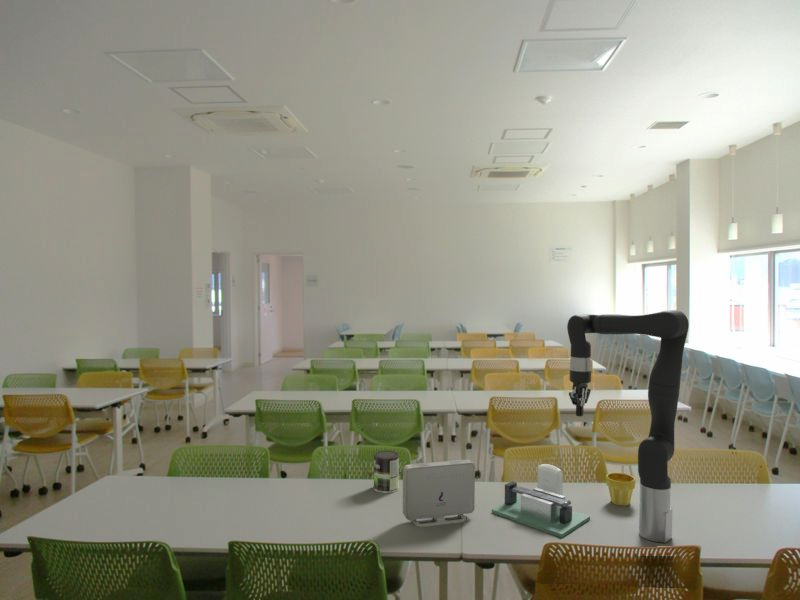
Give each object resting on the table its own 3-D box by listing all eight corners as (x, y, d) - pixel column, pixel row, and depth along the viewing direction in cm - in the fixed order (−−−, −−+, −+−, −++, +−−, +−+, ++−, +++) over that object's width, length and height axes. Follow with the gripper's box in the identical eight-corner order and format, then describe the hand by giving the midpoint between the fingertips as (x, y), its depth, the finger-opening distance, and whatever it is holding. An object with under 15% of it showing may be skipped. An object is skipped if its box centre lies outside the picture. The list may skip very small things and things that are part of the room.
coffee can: (377, 494, 220) (377, 459, 219) (370, 485, 230) (370, 451, 229) (402, 491, 223) (402, 456, 222) (394, 482, 233) (394, 449, 232)
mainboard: (589, 519, 198) (590, 516, 197) (561, 537, 183) (561, 534, 183) (521, 497, 217) (521, 494, 217) (491, 512, 203) (491, 509, 203)
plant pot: (607, 506, 209) (607, 480, 209) (604, 495, 219) (604, 471, 219) (637, 509, 207) (637, 483, 207) (632, 498, 217) (632, 473, 217)
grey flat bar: (570, 505, 194) (571, 501, 194) (564, 508, 191) (564, 504, 191) (518, 488, 209) (518, 485, 209) (512, 492, 206) (512, 488, 206)
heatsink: (575, 517, 196) (575, 497, 196) (561, 526, 189) (561, 505, 189) (515, 498, 213) (515, 479, 213) (500, 505, 206) (500, 486, 206)
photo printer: (535, 493, 221) (535, 463, 221) (542, 491, 224) (542, 460, 224) (557, 501, 213) (558, 469, 213) (564, 499, 216) (564, 467, 216)
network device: (407, 528, 190) (407, 470, 189) (400, 518, 198) (400, 462, 197) (476, 520, 196) (477, 464, 196) (467, 510, 205) (467, 456, 204)
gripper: (581, 372, 197) (580, 420, 197) (598, 368, 206) (597, 414, 207) (562, 369, 202) (561, 417, 203) (579, 366, 212) (578, 411, 212)
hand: (579, 415), depth 205 cm, fingers closed
